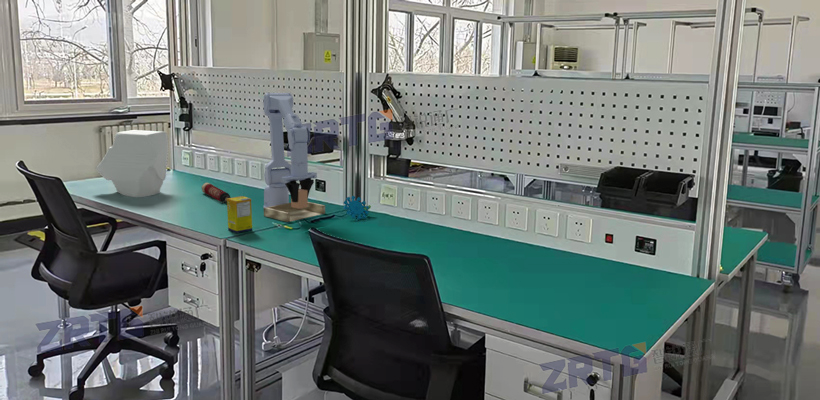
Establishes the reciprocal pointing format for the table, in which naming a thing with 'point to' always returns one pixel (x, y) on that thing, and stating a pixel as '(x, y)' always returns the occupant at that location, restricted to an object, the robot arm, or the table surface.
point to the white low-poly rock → (136, 162)
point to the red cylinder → (215, 192)
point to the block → (301, 200)
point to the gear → (356, 207)
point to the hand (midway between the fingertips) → (299, 200)
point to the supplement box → (239, 214)
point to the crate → (293, 211)
